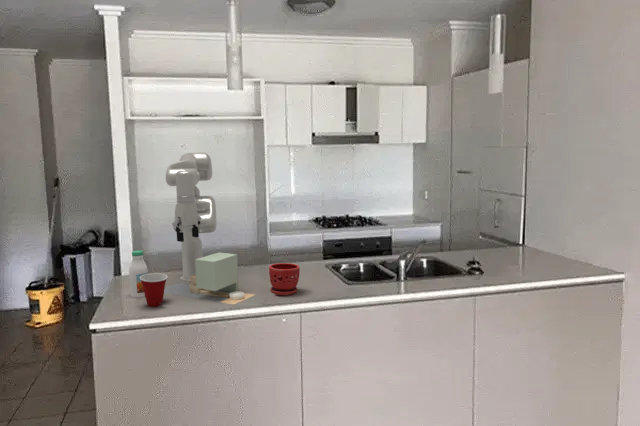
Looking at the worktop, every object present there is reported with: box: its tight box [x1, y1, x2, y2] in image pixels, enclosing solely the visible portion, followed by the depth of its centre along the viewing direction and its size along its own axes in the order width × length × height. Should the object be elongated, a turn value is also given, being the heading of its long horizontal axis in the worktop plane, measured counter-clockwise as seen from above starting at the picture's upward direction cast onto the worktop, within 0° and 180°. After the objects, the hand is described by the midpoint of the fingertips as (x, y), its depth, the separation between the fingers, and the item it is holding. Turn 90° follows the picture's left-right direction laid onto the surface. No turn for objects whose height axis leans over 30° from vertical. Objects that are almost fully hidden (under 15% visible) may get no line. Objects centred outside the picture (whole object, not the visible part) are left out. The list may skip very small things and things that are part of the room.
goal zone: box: [220, 292, 255, 306], centre depth 223 cm, size 15×7×1 cm, turn 151°
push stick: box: [188, 275, 229, 298], centre depth 229 cm, size 4×20×7 cm, turn 61°
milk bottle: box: [128, 249, 149, 298], centre depth 229 cm, size 8×8×20 cm
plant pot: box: [268, 262, 301, 296], centre depth 233 cm, size 13×13×12 cm
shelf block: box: [195, 252, 240, 292], centre depth 227 cm, size 15×10×18 cm, turn 151°
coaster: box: [229, 290, 245, 300], centre depth 223 cm, size 6×6×2 cm
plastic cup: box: [140, 272, 168, 308], centre depth 218 cm, size 11×11×12 cm
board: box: [164, 282, 231, 303], centre depth 233 cm, size 15×36×1 cm, turn 61°
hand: (188, 239), depth 231 cm, fingers open, 9 cm apart
